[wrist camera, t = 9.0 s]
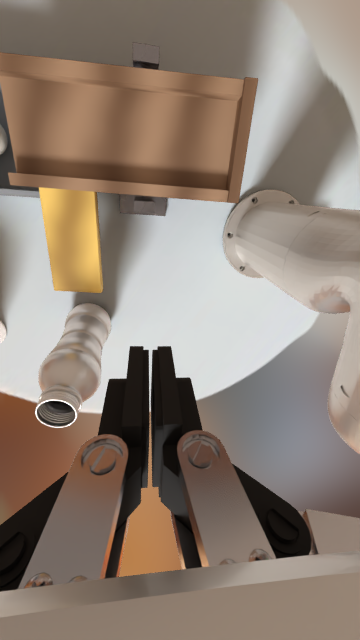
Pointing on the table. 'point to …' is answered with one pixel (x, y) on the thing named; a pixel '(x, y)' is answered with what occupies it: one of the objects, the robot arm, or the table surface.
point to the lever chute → (118, 145)
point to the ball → (2, 140)
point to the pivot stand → (141, 204)
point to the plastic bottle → (73, 366)
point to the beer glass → (2, 332)
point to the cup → (11, 164)
